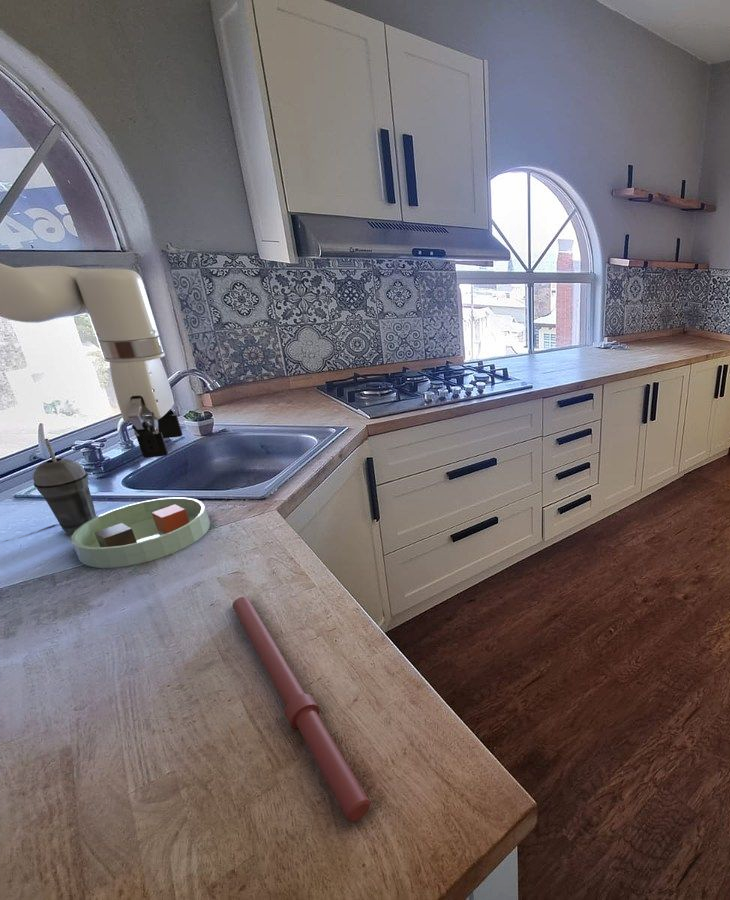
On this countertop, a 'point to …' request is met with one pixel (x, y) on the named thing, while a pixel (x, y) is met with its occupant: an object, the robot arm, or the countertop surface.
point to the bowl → (140, 533)
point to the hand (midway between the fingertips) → (164, 446)
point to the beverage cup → (65, 491)
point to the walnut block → (115, 536)
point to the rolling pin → (304, 715)
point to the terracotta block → (170, 518)
